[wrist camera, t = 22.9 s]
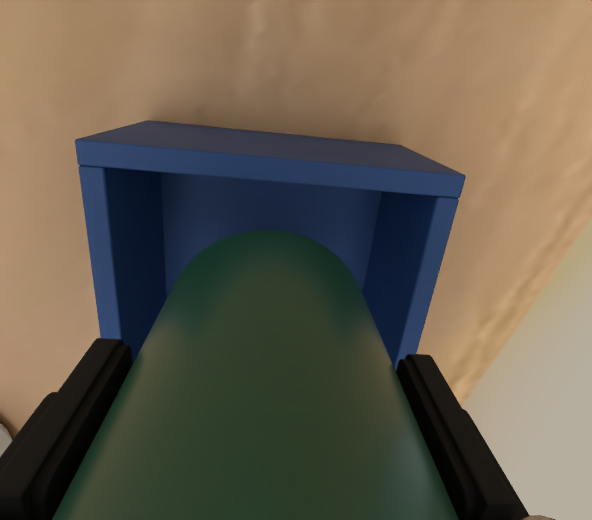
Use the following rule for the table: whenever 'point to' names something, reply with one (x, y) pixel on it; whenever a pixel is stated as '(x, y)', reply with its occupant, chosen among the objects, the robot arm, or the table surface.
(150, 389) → the green can
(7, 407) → the table surface
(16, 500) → the robot arm
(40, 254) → the table surface
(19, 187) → the table surface
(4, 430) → the supplement can
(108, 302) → the blue storage box
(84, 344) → the table surface
